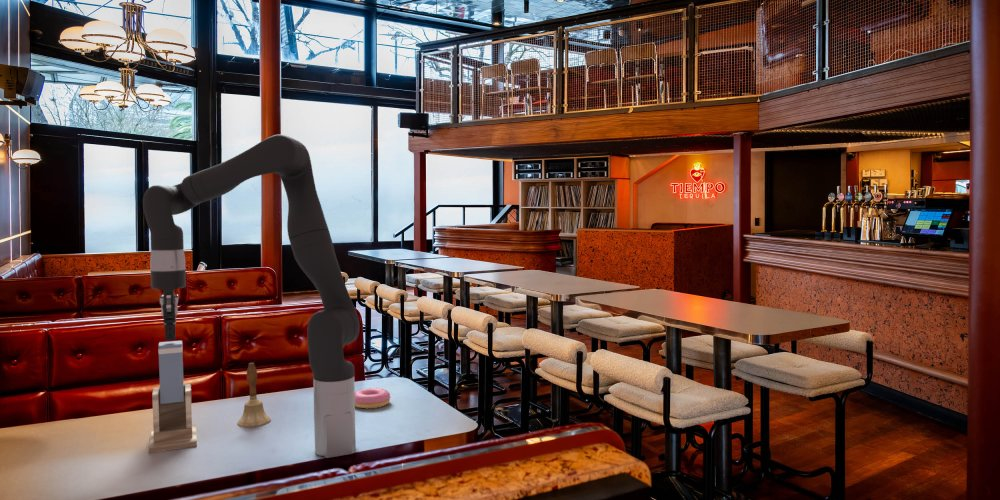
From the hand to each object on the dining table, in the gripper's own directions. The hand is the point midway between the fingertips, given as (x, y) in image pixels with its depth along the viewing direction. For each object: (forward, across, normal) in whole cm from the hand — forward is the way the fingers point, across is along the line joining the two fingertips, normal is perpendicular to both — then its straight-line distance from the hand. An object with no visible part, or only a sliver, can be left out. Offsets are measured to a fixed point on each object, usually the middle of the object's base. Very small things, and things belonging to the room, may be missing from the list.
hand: (170, 339), depth 155 cm
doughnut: (+25, +7, -51) cm, 57 cm away
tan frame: (+25, 0, 0) cm, 25 cm away
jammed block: (+15, 0, 0) cm, 15 cm away
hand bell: (+25, +6, -19) cm, 32 cm away
